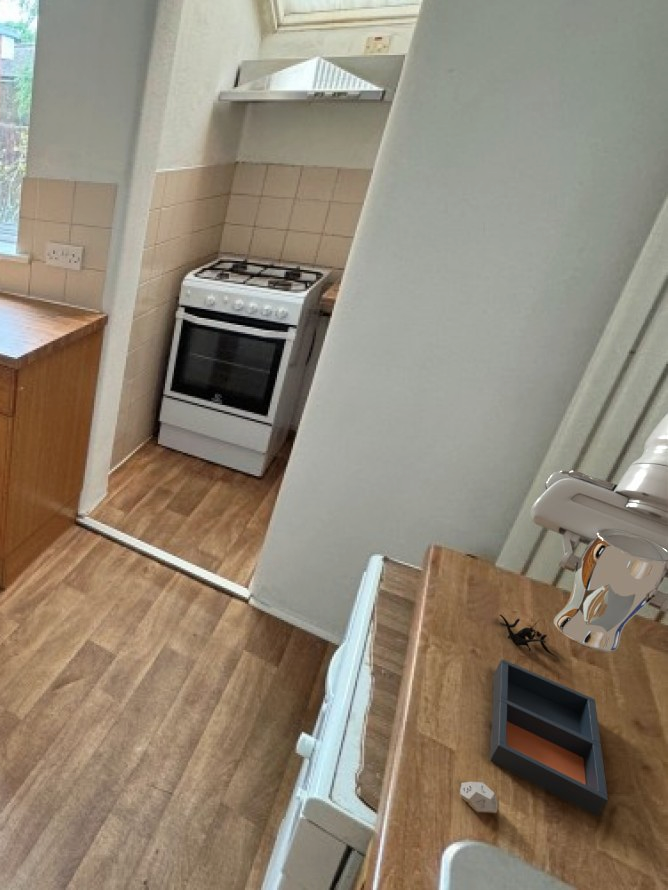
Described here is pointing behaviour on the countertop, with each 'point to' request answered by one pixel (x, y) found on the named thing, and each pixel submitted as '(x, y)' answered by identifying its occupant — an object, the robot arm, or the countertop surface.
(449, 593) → the countertop surface
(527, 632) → the creature
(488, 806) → the game die
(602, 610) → the beer glass
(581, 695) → the glass rack
